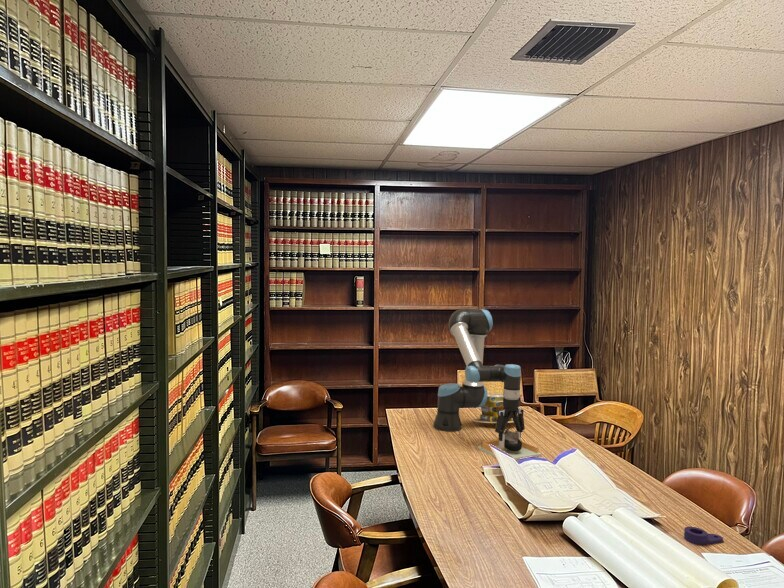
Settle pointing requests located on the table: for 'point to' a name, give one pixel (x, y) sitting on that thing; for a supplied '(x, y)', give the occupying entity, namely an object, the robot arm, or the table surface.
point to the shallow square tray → (524, 452)
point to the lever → (700, 536)
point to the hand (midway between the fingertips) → (509, 446)
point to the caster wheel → (512, 441)
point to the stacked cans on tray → (491, 409)
